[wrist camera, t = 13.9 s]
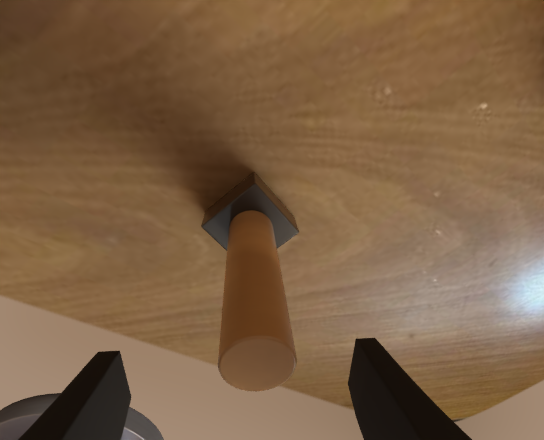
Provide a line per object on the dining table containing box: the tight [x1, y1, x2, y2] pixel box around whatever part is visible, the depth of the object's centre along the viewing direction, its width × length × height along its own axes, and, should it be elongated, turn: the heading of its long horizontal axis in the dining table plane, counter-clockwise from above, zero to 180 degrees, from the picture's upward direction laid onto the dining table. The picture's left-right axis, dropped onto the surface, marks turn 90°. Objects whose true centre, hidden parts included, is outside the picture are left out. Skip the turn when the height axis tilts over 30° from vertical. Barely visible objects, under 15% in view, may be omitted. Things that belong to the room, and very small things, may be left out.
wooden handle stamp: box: [202, 173, 299, 391], centre depth 12 cm, size 3×3×9 cm
